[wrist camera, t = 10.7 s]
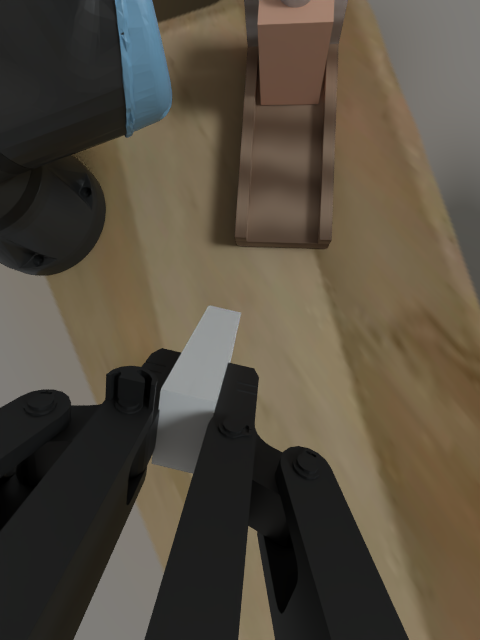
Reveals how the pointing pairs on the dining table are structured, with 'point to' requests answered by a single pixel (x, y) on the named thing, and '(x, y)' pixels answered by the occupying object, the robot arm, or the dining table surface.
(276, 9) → the block
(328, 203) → the track
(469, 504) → the dining table surface
